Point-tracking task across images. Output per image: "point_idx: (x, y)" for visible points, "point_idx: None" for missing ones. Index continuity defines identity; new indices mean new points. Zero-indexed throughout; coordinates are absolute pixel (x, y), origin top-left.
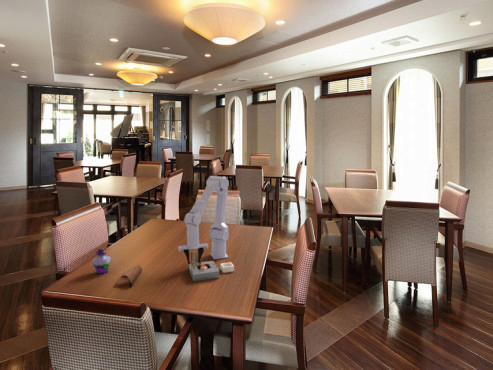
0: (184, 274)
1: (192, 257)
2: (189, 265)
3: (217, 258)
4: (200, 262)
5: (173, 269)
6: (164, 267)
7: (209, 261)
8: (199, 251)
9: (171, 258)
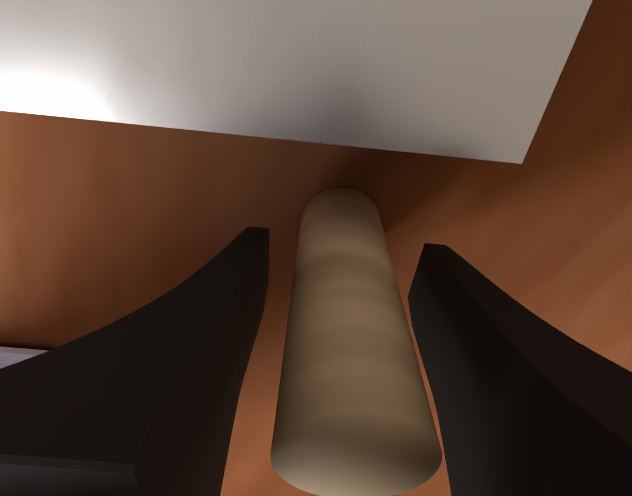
0: (591, 22)
1: (397, 324)
2: (545, 82)
3: (16, 351)
4: (242, 126)
5: (589, 280)
6: (627, 359)
7: (3, 92)
8: (144, 424)
9: (447, 475)
